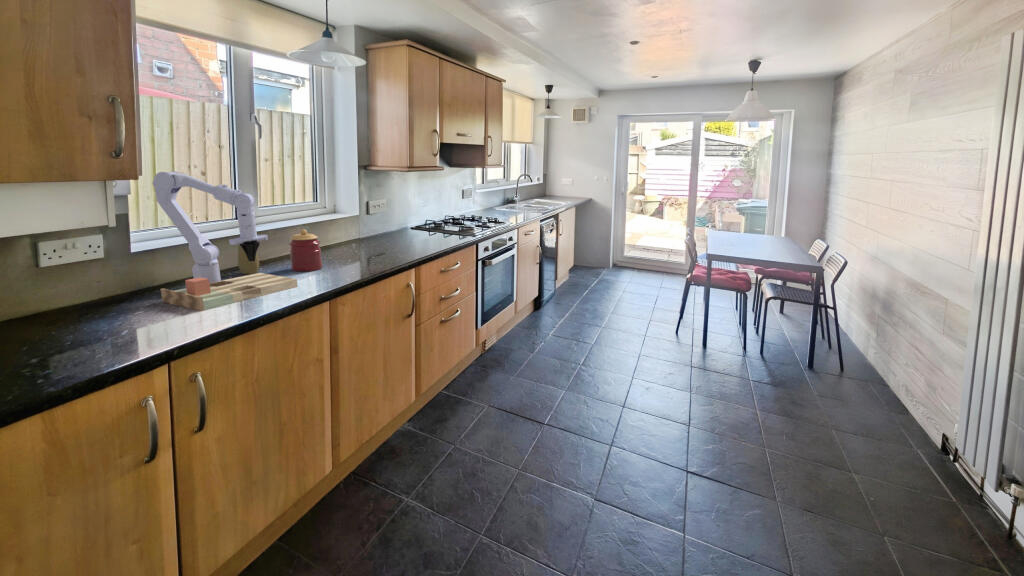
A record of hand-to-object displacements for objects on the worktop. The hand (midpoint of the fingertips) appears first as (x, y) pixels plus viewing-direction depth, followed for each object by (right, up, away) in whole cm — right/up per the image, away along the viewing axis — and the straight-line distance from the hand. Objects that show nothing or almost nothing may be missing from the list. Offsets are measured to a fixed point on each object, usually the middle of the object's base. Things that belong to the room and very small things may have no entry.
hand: (251, 260), depth 192 cm
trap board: (0, -12, -11) cm, 16 cm away
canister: (+9, -2, +31) cm, 32 cm away
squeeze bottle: (-12, -4, +22) cm, 25 cm away
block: (-6, -12, -23) cm, 27 cm away
